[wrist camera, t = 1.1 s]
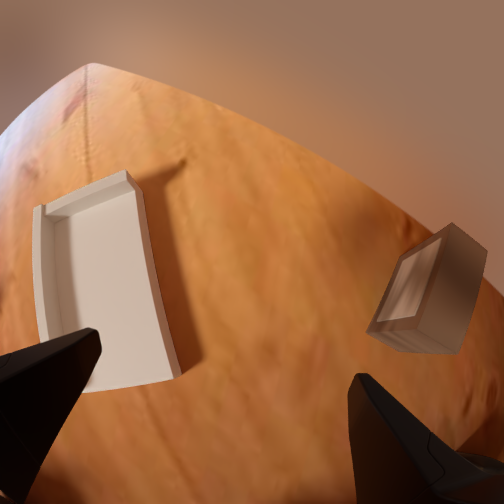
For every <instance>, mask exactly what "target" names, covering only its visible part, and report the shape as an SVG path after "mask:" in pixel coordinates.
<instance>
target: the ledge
mask: <svg viewBox="0 0 504 504" xmlns="http://www.w3.org/2000/svg"><path fill="white" fill-rule="evenodd" d="M32 263H33V284H34V297H35V307H36V315H37V323H38V330H39V336H40V342H41V343H42V342H45V341H48V340H51V339H54V338H57V337H60V336H63V335H66V334H69V333H72V332H75V331H78V330H81V329H84V328H87V327H90V328H93V329H96V330H98V332H99V335H100V340H101V345H102V353H101V356H100V358H99V360H98V362H97V364H96V366H95V368H94V370H93V372H92V374H91V376H90V379H89V381H88V383H87V385H86V386H85V388H84V390H83V392H82V393H86V392H95V391H104V390H111V389H118V388H125V387H132V386H138V385H144V384H149V383H155V382H160V381H165V380H170V379H174V378H177V377H179V376H181V375H182V373H181V369H180V366H179V363H178V359H177V356H176V352H175V348H174V345H173V341H172V337H171V334H170V330H169V326H168V322H167V318H166V314H165V310H164V305H163V301H162V297H161V292H160V288H159V283H158V278H157V273H156V269H155V263H154V258H153V253H152V248H151V242H150V236H149V230H148V224H147V218H146V211H145V204H144V197H143V192H142V190H141V189H140V188H139V186H138V185H137V184H136V182H135V181H134V180H133V178H132V177H131V176H130V174H129V173H128V171H127V170H126V169H125V170H122V171H120V172H117V173H115V174H112V175H110V176H107V177H105V178H102V179H100V180H98V181H95V182H93V183H91V184H88V185H86V186H84V187H81V188H79V189H77V190H75V191H73V192H71V193H68V194H66V195H64V196H62V197H60V198H58V199H56V200H54V201H52V202H50V203H48V204H46V205H42V204H40V205H38V206H37V207H35V208H34V209H33V230H32Z"/></svg>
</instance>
